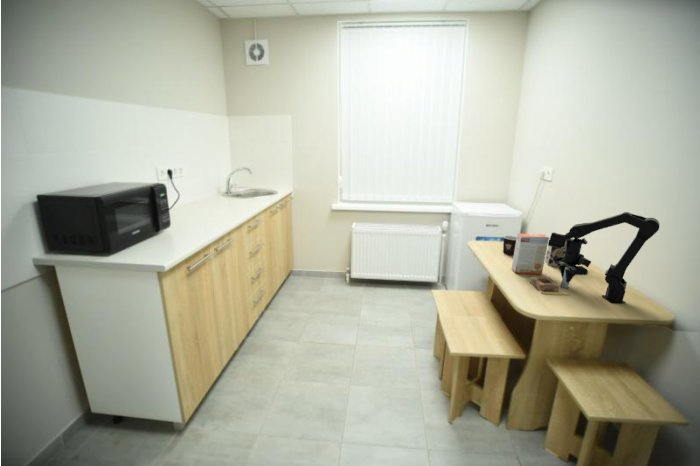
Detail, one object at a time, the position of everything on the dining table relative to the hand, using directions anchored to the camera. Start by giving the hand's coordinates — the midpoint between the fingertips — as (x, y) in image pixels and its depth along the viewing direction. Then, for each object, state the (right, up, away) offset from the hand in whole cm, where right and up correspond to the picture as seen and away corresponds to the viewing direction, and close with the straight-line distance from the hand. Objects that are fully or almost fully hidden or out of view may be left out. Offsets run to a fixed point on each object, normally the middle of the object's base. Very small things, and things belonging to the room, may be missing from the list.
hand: (565, 280), depth 163 cm
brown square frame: (-11, -3, -1) cm, 12 cm away
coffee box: (+13, +5, +29) cm, 32 cm away
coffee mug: (-6, +10, +44) cm, 46 cm away
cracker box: (-10, +2, +18) cm, 21 cm away
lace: (-10, -5, -5) cm, 12 cm away
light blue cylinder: (0, -3, +1) cm, 3 cm away
